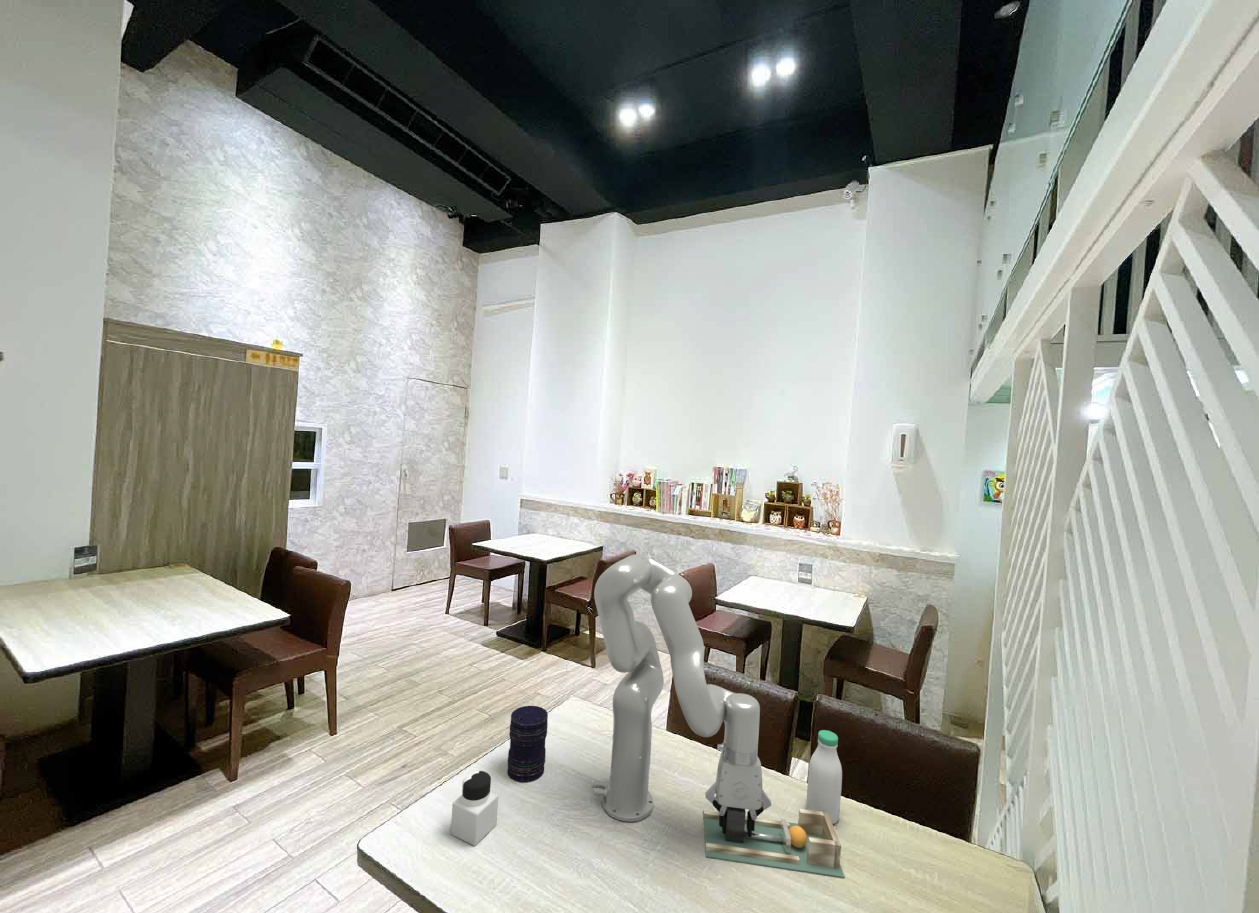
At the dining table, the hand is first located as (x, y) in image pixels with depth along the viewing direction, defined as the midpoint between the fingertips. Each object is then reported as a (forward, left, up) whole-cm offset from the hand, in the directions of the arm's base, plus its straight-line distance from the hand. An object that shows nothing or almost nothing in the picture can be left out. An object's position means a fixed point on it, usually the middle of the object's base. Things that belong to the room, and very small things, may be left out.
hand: (736, 830), depth 115 cm
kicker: (+4, 0, -1) cm, 5 cm away
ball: (+14, 0, 0) cm, 14 cm away
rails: (+3, 0, -2) cm, 3 cm away
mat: (+7, 0, -2) cm, 8 cm away
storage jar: (-54, +13, -2) cm, 55 cm away
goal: (+18, 0, -2) cm, 18 cm away
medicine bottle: (-59, -9, -2) cm, 59 cm away
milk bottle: (+22, +12, -2) cm, 26 cm away
